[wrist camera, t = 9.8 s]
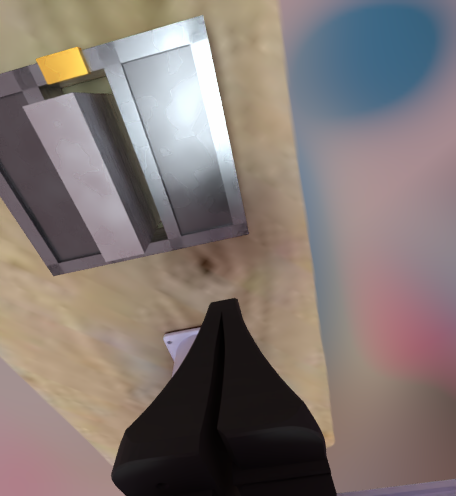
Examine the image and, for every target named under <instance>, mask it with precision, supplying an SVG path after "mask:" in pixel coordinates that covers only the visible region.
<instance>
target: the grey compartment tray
mask: <svg viewBox="0 0 456 496" xmlns="http://www.w3.org/2000/svg"><path fill="white" fill-rule="evenodd" d="M36 61H37V63H36V64H33V65H29V66H26V67H22V68H19V69H16V70H12V71H9V72H5V73H2V74H0V197H1V198H2V200H3V201H4V203H5V204H6V206H7V207H8V209H9V210H10V212H11V213H12V215H13V216H14V218H15V219H16V221H17V222H18V224H19V225H20V227H21V228H22V230H23V231H24V233H25V234H26V236H27V237H28V239H29V240H30V242H31V243H32V245H33V246H34V248H35V249H36V251H37V252H38V254H39V255H40V257H41V258H42V260H43V261H44V263H45V264H46V266H47V267H48V269H49V270H50V272H51V273H52V275H53V276H56V275H61V274H65V273H70V272H75V271H79V270H84V269H89V268H93V267H98V266H103V265H107V264H112V263H117V262H121V261H126V260H131V259H135V258H140V257H144V256H149V255H154V254H158V253H163V252H168V251H172V250H177V249H182V248H186V247H191V246H196V245H200V244H205V243H209V242H214V241H219V240H223V239H228V238H233V237H237V236H242V235H247V234H249V232H248V227H247V222H246V217H245V213H244V208H243V203H242V198H241V194H240V189H239V184H238V179H237V174H236V170H235V165H234V160H233V155H232V151H231V146H230V141H229V136H228V132H227V127H226V122H225V117H224V113H223V108H222V103H221V98H220V94H219V89H218V84H217V79H216V75H215V70H214V65H213V60H212V56H211V51H210V46H209V41H208V37H207V32H206V27H205V22H204V18H203V15H202V16H198V17H195V18H192V19H188V20H185V21H181V22H178V23H174V24H171V25H167V26H164V27H160V28H157V29H154V30H150V31H147V32H143V33H140V34H136V35H133V36H129V37H126V38H123V39H119V40H116V41H112V42H109V43H105V44H102V45H98V46H95V47H91V48H88V49H85V50H81V48H79V47H75V48H71V49H68V50H65V51H61V52H58V53H54V54H51V55H47V56H44V57H41V58H37V59H36ZM103 76H107V78H108V81H109V84H110V86H111V89H112V92H113V94H114V97H115V99H116V102H117V105H118V107H119V110H120V113H121V115H122V118H123V121H124V123H125V126H126V128H127V131H128V134H129V136H130V139H131V142H132V144H133V147H134V150H135V152H136V155H137V158H138V160H139V163H140V165H141V168H142V171H143V173H144V176H145V179H146V181H147V184H148V187H149V189H150V192H151V195H152V197H153V200H154V202H155V205H156V208H157V210H158V213H159V216H160V218H161V221H162V224H163V226H164V228H160V229H156V231H155V233H154V235H153V237H152V239H151V241H150V244H149V246H148V248H147V250H146V252H145V254H141V255H136V256H131V257H127V258H122V259H118V260H113V261H109V262H106V261H105V259H104V258H103V256H102V254H101V252H100V250H99V248H98V246H97V245H96V243H95V241H94V239H93V237H92V235H91V233H90V231H89V230H88V228H87V226H86V224H85V222H84V220H83V218H82V217H81V215H80V213H79V211H78V209H77V207H76V205H75V204H74V202H73V200H72V198H71V196H70V194H69V192H68V191H67V189H66V187H65V185H64V183H63V181H62V179H61V178H60V176H59V174H58V172H57V170H56V168H55V166H54V164H53V163H52V161H51V159H50V157H49V155H48V153H47V151H46V150H45V148H44V146H43V144H42V142H41V140H40V138H39V137H38V135H37V133H36V131H35V129H34V127H33V125H32V124H31V122H30V120H29V118H28V116H27V114H26V112H25V111H24V109H23V106H26V105H30V104H33V103H37V102H40V101H44V100H48V99H51V98H55V97H58V96H62V95H64V94H63V92H62V90H61V88H64V87H67V86H71V85H75V84H78V83H82V82H85V81H89V80H93V79H96V78H100V77H103Z"/></svg>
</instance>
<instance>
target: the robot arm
mask: <svg viewBox="0 0 456 496" xmlns="http://www.w3.org/2000/svg"><path fill="white" fill-rule="evenodd" d="M163 340H164V342H165V344H166V346H167V348H168V350H169V352H170V354H171V356H172V358H173V360H174V367H173V373H172V378H171V380H170V381H169V382H168V384H167V385H166V386H165V388H164V389H163V390H162V391H161V393H160V394H159V395H158V396H157V397H156V399H155V400H154V401H153V402H152V403H151V405H150V406H149V407H148V408H147V409H146V410H145V411H144V412H143V413H142V414H141V415H140V416H139V417H138V418H137V419H136V420H135V421H134V422H133V424H132V425H131V426H130V427H129V428H127V429H126V430H125V433H124V436H123V438H122V441H121V443H120V446H119V449H118V453H117V456H116V460H115V463H114V467H113V470H112V474H111V477H112V481H113V482H114V484H115V485H116V486H117V487H118V488H119V489H120V490H121V491H122V492H123V493H124V494H125V495H126V496H456V479H451V480H443V481H435V482H427V483H419V484H411V485H402V486H394V487H387V488H378V489H370V490H362V491H354V492H345V493H336V490H335V487H334V483H333V480H332V476H331V470H330V467H329V463H328V460H327V456H326V445H325V439H324V436H323V434H322V432H321V430H320V428H319V426H318V424H317V422H316V421H315V419H314V417H313V416H312V414H311V412H310V411H309V409H308V408H307V406H306V405H305V403H304V402H303V401H302V400H301V399H300V398H299V397H298V396H297V395H296V394H295V393H294V392H293V391H292V389H291V388H290V387H289V386H288V385H287V384H286V383H285V382H284V381H283V380H282V378H281V377H280V376H279V375H278V374H277V372H276V371H275V370H274V369H273V367H272V366H271V365H270V364H269V362H268V361H267V360H266V358H265V357H264V355H263V354H262V352H261V351H260V349H259V348H258V346H257V345H256V343H255V342H254V340H253V338H252V336H251V335H250V333H249V331H248V329H247V327H246V325H245V323H244V321H243V318H242V314H241V310H240V306H239V303H238V299H236V298H233V299H228V300H222V301H217V302H212V303H211V304H210V305H209V308H208V311H207V313H206V316H205V319H204V321H203V323H202V326H201V327H199V328H194V329H189V330H183V331H178V332H173V333H168V334H165V335H164V338H163ZM170 341H171V342H170Z"/></svg>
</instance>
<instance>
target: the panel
mask: <svg viewBox="0 0 456 496" xmlns="http://www.w3.org/2000/svg"><path fill="white" fill-rule="evenodd" d="M23 109H24V111H25V112H26V114H27V116H28V118H29V120H30V122H31V124H32V125H33V127H34V129H35V131H36V133H37V135H38V137H39V138H40V140H41V142H42V144H43V146H44V148H45V150H46V151H47V153H48V155H49V157H50V159H51V161H52V163H53V164H54V166H55V168H56V170H57V172H58V174H59V176H60V178H61V179H62V181H63V183H64V185H65V187H66V189H67V191H68V192H69V194H70V196H71V198H72V200H73V202H74V204H75V205H76V207H77V209H78V211H79V213H80V215H81V217H82V218H83V220H84V222H85V224H86V226H87V228H88V230H89V231H90V233H91V235H92V237H93V239H94V241H95V243H96V245H97V246H98V248H99V250H100V252H101V254H102V256H103V258H104V259H105V261H106V262H109V261H113V260H118V259H122V258H127V257H131V256H136V255H141V254H145V252H146V250H147V248H148V246H149V244H150V241H151V239H152V237H153V235H154V233H155V231H156V229H157V227H158V225H159V223H160V221H161V218H160V216H159V213H158V210H157V208H156V205H155V202H154V200H153V197H152V195H151V192H150V189H149V187H148V184H147V181H146V179H145V176H144V173H143V171H142V168H141V165H140V163H139V160H138V158H137V155H136V152H135V150H134V147H133V144H132V142H131V139H130V136H129V134H128V131H127V128H126V126H125V123H124V121H123V118H122V115H121V113H120V110H119V107H118V105H117V102H116V99H115V97H114V95H111V94H93V93H74V92H72V93H69V94H65V95H62V96H58V97H55V98H51V99H48V100H44V101H40V102H37V103H33V104H30V105H26V106H23Z"/></svg>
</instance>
